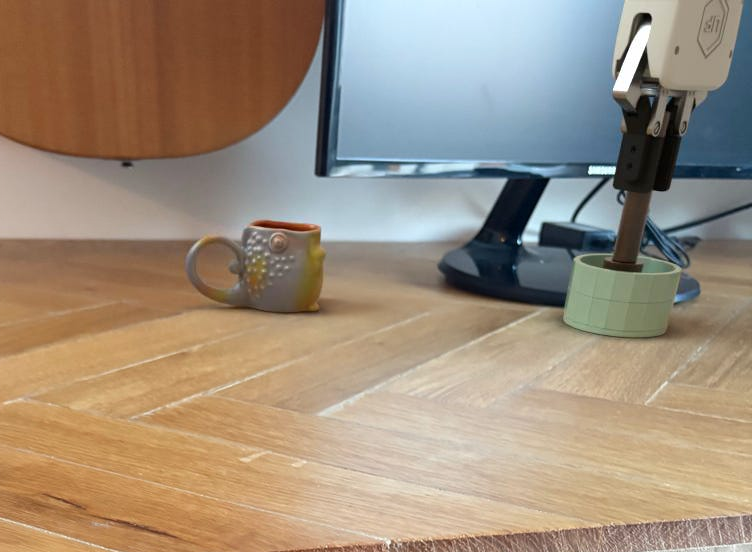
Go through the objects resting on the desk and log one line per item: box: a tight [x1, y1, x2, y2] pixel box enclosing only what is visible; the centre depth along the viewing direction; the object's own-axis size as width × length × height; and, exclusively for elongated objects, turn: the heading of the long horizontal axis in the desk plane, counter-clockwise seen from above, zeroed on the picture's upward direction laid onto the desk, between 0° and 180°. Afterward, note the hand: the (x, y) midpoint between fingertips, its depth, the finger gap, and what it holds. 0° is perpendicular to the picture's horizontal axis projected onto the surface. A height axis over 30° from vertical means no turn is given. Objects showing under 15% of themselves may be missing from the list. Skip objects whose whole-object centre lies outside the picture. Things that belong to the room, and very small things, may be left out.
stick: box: [603, 111, 671, 273], centre depth 80 cm, size 3×3×13 cm
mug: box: [185, 219, 326, 313], centre depth 84 cm, size 12×7×7 cm, turn 105°
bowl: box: [562, 253, 683, 338], centre depth 84 cm, size 9×9×5 cm
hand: (640, 188), depth 80 cm, fingers closed on stick, 2 cm apart
